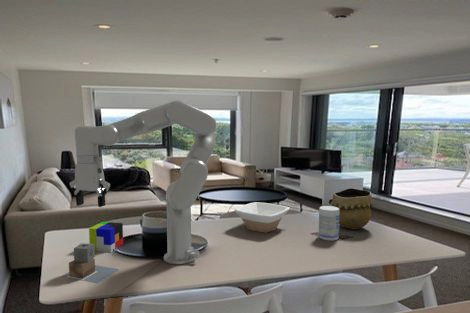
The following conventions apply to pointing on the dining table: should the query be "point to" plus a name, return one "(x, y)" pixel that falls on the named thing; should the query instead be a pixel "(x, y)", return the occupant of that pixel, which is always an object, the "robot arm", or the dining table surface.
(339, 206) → the clay pot
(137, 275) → the dining table surface
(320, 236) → the supplement tub
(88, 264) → the walnut block
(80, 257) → the grey cube
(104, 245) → the puzzle toy
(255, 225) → the bowl
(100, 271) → the board
